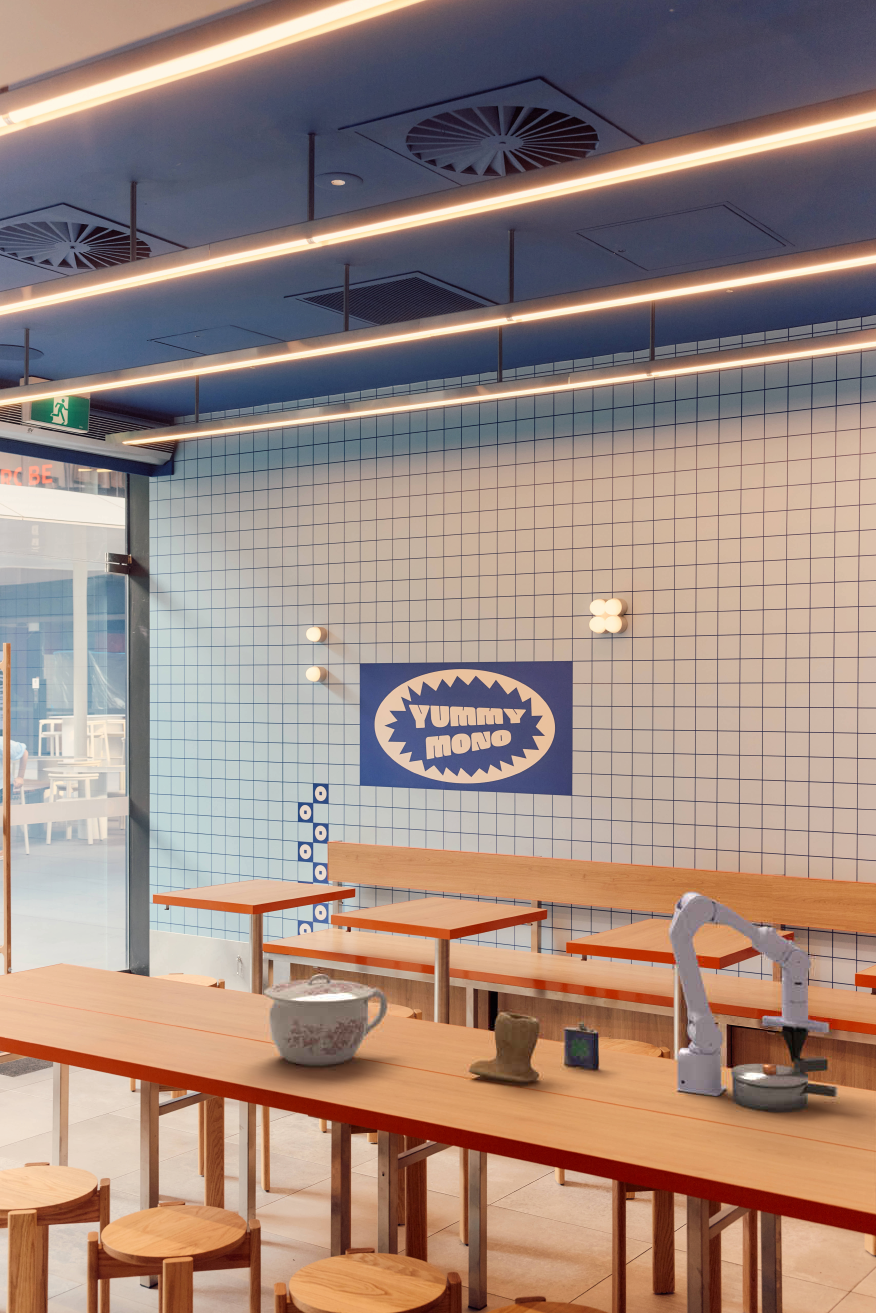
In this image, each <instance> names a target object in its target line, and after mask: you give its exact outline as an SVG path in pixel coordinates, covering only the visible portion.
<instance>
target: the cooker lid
mask: <svg viewBox="0 0 876 1313" xmlns="http://www.w3.org/2000/svg"><path fill="white" fill-rule="evenodd" d="M828 1066H829V1065H828V1059H827V1058H824V1057H822V1056H816V1057H800V1058H797V1059H794V1062H793V1067H791V1066H785V1065H779V1064H772V1063H747V1064H746V1063H745V1064H740V1065H736V1066H734V1067H732V1068H731V1070H730V1072H731V1078H732V1077H733V1078H734V1079H736V1080H738V1081H740V1082H743V1083H747V1084H751V1085H757V1086H764V1087H779V1088H786V1087H797V1086H802V1085H805V1084H807V1083H809V1081H810V1080H809V1074H808V1073H809V1072H823V1071H829V1070H828V1069H829V1068H828ZM807 1072H808V1073H807Z"/></svg>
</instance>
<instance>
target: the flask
mask: <svg viewBox="0 0 876 1313" xmlns="http://www.w3.org/2000/svg"><path fill="white" fill-rule="evenodd" d="M585 1024H586V1022H585V1021H583V1022H580V1023H579V1022H578V1023H577V1025H578V1027H564V1030H563V1032H564V1033H563V1034H564V1040H563V1041H564V1042H563V1043H564V1046H563V1047H564V1048H563V1049H564V1050H563V1051H564V1055H563V1059H564V1060H563V1064H564V1066H566V1067H569V1066H570V1067H572V1068H576V1067H581V1068H580V1069H583V1068H587V1069H586V1070H588V1069H589V1070H590V1069H592V1070H591V1071H595V1070H597V1069H599V1070H600V1056H599V1055H600V1054H599V1053H600V1052H599V1051H600V1050H599V1045H600V1044H599V1041H600V1040H599V1032H598V1031H597V1030H595V1029H593V1028H591V1029H589V1028H588V1027H587V1026H586V1025H585ZM597 1071H598V1070H597Z"/></svg>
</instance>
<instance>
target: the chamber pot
mask: <svg viewBox="0 0 876 1313" xmlns="http://www.w3.org/2000/svg"><path fill="white" fill-rule="evenodd" d="M263 994H264V996H266V997H267V998H268V999H269V998H270V999H271V1000H273V1002H272V1003H273V1004H272V1005H271V1007H270V1008H269V1010H268V1026H269V1029H270V1030H269V1031H270V1036H271V1040H272V1042H273V1043H274V1045H275V1047H276V1048H277V1050H278V1052H279V1054H280V1056H282V1058H283V1059H285V1060H287V1061H288V1062H290V1063H294V1064H296V1065H301V1066H304V1067H305V1066H306V1067H326V1066H327V1067H328V1066H334V1065H339V1064H341V1063H343V1062H346V1061H348V1060H350V1059H352V1058H353V1057H354V1056H355V1054H356V1053H357V1050H359V1048H360V1046H361V1044H362V1042H363V1041H364V1039H365V1038H366V1036H367V1035H369V1033H370V1032H371V1031H372V1030H373V1029H375V1028H376V1027H377V1026H378V1025H379V1024H380V1023H381V1021H382V1020H383V1019H384V1017H385V1016H386V1014H387V1010H388V1000H387V997H386V995H385V993H384V992H383V991H382V990H381V989H379V988H378V987H374V988H372V987H370V986H368V985H365V984H361V983H359V982H353V981H349V980H340V979H331V978H330V976H328V975H325V974H322V973H319V974H315V975H312V976H311V978H310V979H301V980H293V981H287V982H281V983H278V984H275V985H272V986H269V987H267V988H266V989H265V990H263ZM375 997H376V998H378V999H379V1011H378V1013H377V1014H376V1015H375V1017H374V1018H373V1019H372V1021H371V1022H369V1000H371V998H375Z"/></svg>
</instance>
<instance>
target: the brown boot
mask: <svg viewBox="0 0 876 1313" xmlns="http://www.w3.org/2000/svg"><path fill="white" fill-rule="evenodd" d="M539 1034H540V1022H539V1020H538V1019H537V1018H535V1017H533V1016H530V1015H523V1014H519V1013H512V1012H500V1013H499V1014H498V1015H497V1016H496V1019H495V1023H494V1040H495V1047H496V1049H495V1050H496V1054H495V1057H494V1058H493V1059H490V1060H487V1059H486V1060H485V1059H484V1060H477V1061H475V1062H474V1063H471V1065H470V1066H469V1069H468V1072H469V1073H470V1074H473V1075H476V1076H480V1077H485V1078H488V1079H495V1080H501V1081H507V1082H516V1083H517V1082H518V1083H520V1082H521V1083H527V1082H528V1083H530V1082H532V1081H535V1080H537V1079H538V1078H539V1077H540V1074H539V1071H537V1070H536V1069H535V1068H533V1067H532V1064H531V1061H532V1056H533V1053H534V1051H535V1049H536V1046H537V1043H538V1039H539Z"/></svg>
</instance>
